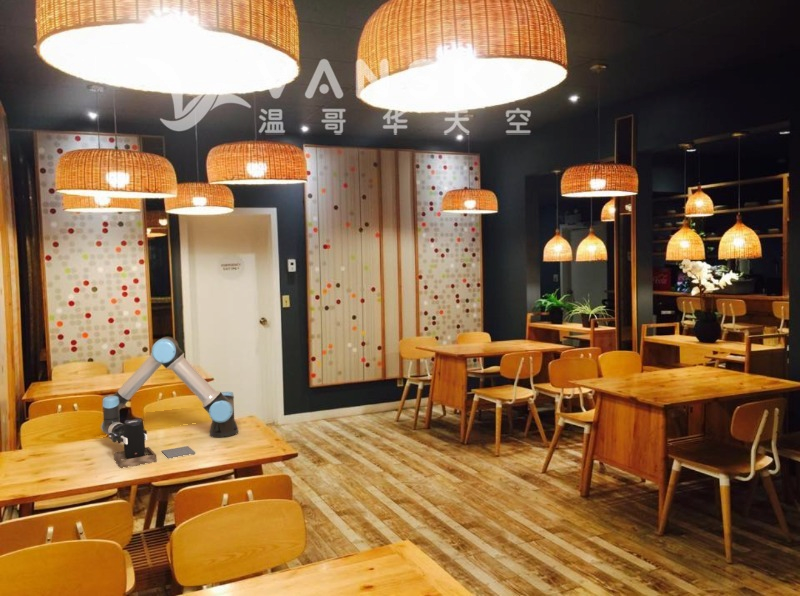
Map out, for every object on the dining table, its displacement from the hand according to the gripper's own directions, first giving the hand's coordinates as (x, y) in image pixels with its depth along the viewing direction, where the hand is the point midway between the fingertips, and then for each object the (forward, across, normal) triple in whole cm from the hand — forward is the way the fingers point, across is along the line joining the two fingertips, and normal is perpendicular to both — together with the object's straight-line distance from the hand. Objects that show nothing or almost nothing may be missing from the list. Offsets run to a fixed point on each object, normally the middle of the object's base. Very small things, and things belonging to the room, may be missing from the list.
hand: (136, 439), depth 302 cm
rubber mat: (0, -20, -11) cm, 23 cm away
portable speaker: (-3, 0, -11) cm, 12 cm away
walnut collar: (-3, 0, -11) cm, 11 cm away
